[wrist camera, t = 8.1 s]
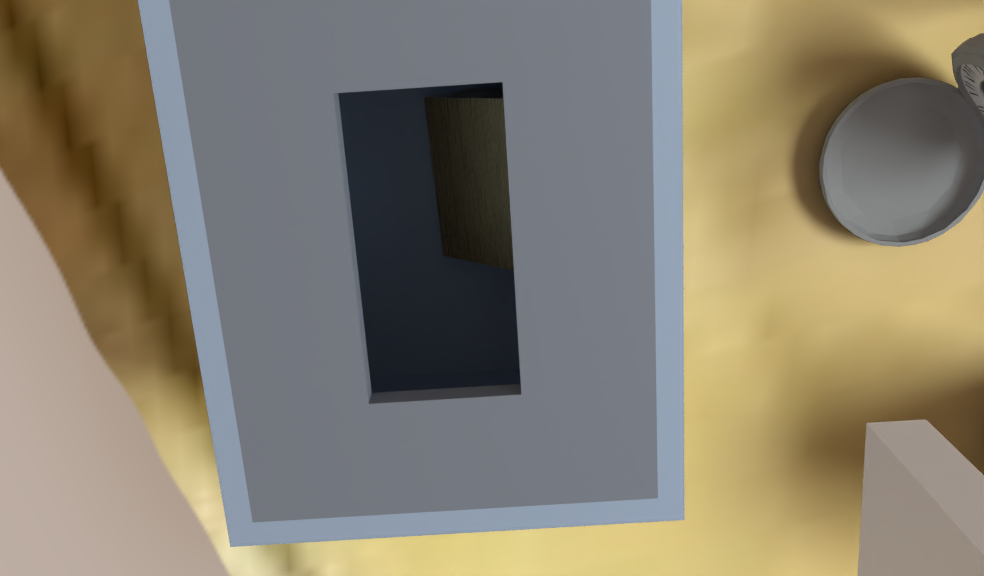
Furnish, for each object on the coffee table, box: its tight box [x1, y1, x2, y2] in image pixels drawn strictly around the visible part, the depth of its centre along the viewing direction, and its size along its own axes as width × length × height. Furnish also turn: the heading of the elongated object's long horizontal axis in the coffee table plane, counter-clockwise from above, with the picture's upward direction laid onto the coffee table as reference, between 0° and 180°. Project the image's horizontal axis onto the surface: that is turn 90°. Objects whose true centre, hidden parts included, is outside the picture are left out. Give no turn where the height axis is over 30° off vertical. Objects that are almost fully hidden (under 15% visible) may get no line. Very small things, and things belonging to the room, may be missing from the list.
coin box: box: [138, 0, 684, 547], centre depth 32 cm, size 18×14×12 cm
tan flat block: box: [424, 88, 514, 271], centre depth 33 cm, size 6×2×7 cm
